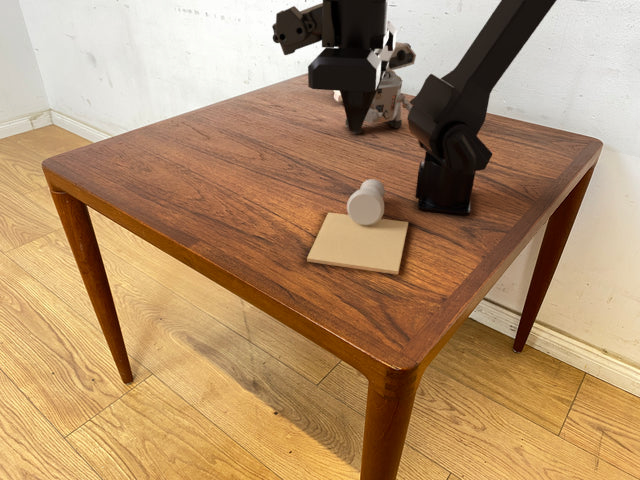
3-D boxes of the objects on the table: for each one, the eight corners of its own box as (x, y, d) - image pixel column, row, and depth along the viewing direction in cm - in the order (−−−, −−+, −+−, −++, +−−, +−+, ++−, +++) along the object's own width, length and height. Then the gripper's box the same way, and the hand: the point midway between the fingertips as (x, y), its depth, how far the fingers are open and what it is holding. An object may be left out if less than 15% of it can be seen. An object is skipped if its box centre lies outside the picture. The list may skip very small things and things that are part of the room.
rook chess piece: (361, 183, 56) (370, 165, 63) (338, 211, 58) (349, 190, 65) (391, 207, 56) (397, 186, 63) (368, 234, 58) (376, 211, 65)
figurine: (369, 148, 79) (374, 51, 70) (341, 124, 88) (343, 35, 79) (419, 140, 81) (429, 45, 73) (387, 117, 90) (393, 30, 82)
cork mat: (408, 225, 59) (408, 221, 59) (398, 275, 52) (398, 271, 51) (328, 215, 62) (328, 212, 61) (307, 261, 54) (306, 258, 53)
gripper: (303, -36, 56) (306, 100, 64) (246, -15, 40) (260, 158, 49) (401, -35, 53) (391, 105, 62) (380, -12, 38) (370, 168, 47)
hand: (355, 130), depth 55 cm, fingers closed
